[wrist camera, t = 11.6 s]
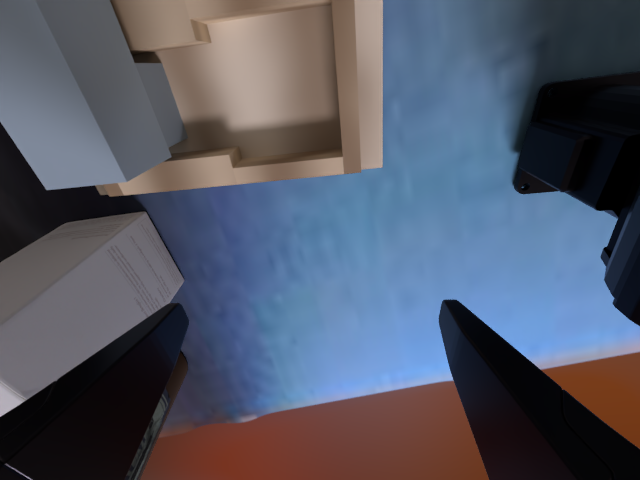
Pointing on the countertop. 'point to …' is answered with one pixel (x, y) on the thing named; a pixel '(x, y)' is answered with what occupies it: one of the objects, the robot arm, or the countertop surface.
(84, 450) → the robot arm
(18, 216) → the countertop surface
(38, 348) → the supplement box
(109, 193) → the divided wooden tray
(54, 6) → the grey rectangular block
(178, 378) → the olive oil
